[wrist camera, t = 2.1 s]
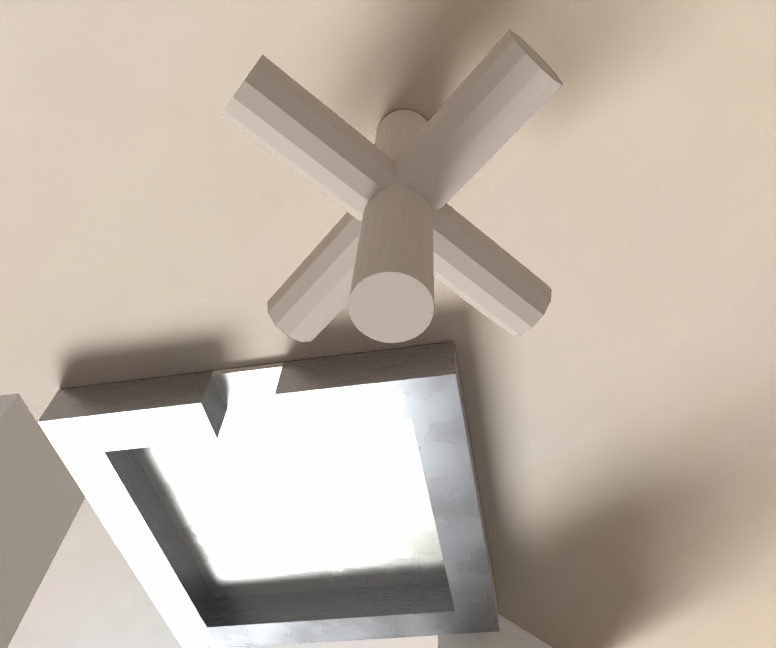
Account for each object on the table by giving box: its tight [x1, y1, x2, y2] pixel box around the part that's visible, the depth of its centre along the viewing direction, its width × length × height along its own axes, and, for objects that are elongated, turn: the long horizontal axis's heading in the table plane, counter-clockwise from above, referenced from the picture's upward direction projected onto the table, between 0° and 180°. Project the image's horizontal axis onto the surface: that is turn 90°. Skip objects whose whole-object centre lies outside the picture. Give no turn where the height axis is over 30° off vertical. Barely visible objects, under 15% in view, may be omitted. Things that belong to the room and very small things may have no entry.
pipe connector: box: [220, 30, 562, 343], centre depth 19 cm, size 10×10×10 cm
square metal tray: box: [38, 342, 500, 648], centre depth 33 cm, size 17×17×2 cm
